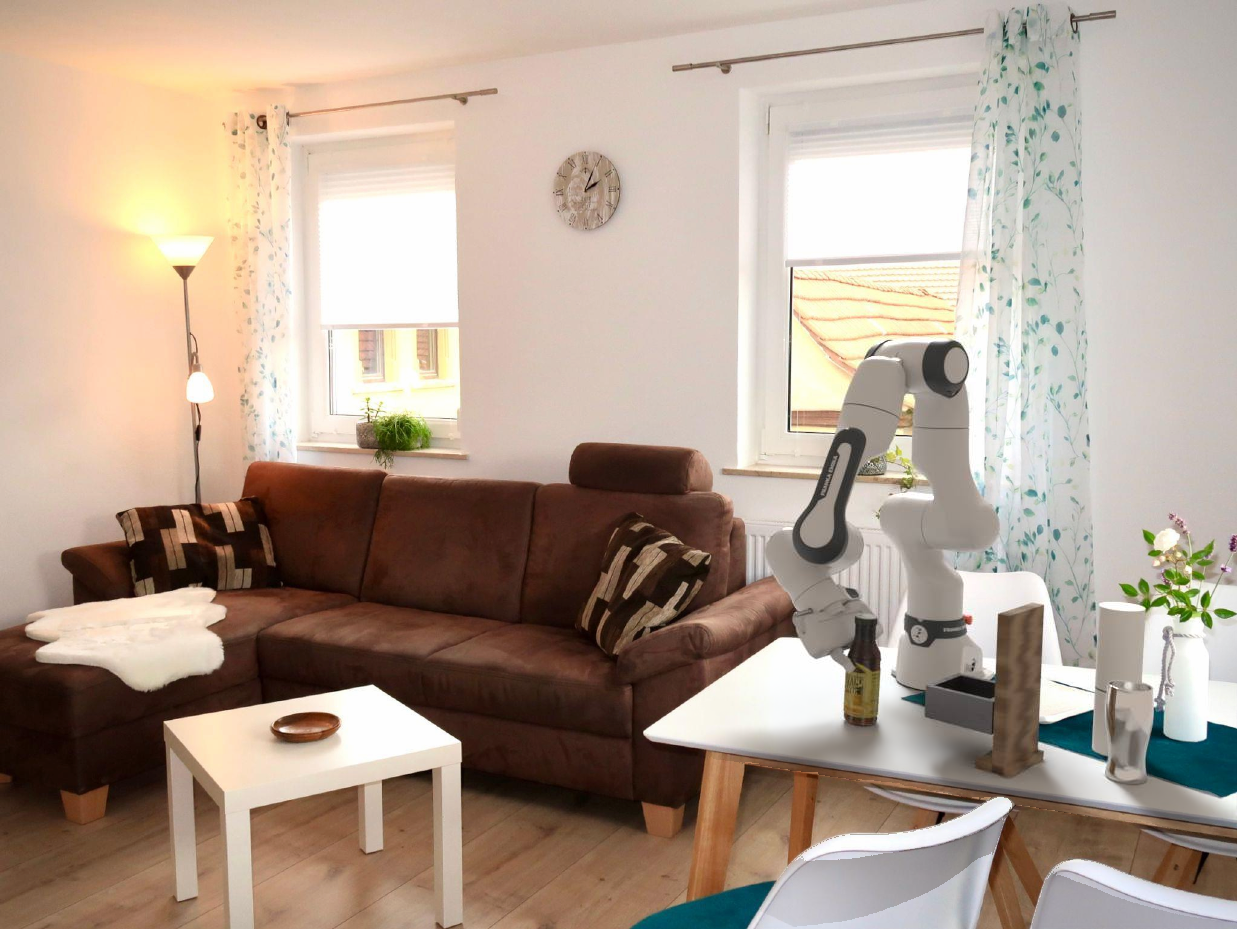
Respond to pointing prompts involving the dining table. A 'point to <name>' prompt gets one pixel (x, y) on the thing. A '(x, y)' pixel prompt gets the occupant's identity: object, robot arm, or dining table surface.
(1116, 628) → the cylindrical container
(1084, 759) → the dining table surface
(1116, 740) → the beer glass
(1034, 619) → the wall board
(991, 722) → the open rectangular box
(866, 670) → the sauce bottle
